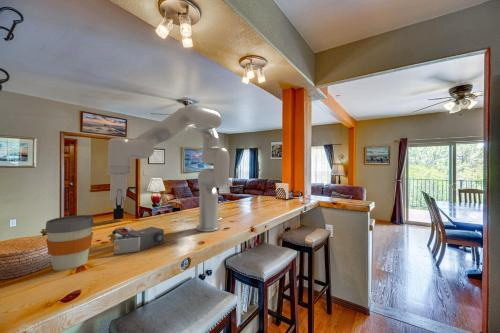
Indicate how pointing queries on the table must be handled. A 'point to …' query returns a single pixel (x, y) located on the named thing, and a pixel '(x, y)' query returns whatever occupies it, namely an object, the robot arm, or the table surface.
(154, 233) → the camera body
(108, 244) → the table surface
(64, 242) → the reusable coffee cup
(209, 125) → the robot arm
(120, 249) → the side door
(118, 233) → the walkie-talkie
